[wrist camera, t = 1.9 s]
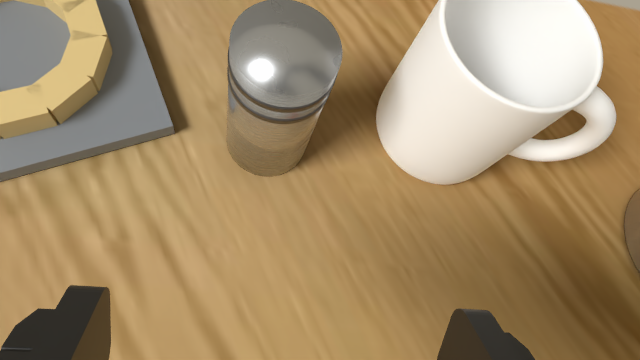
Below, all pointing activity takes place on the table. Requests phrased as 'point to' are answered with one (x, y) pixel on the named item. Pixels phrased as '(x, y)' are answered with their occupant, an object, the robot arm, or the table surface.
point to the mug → (494, 88)
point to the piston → (278, 83)
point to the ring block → (73, 83)
